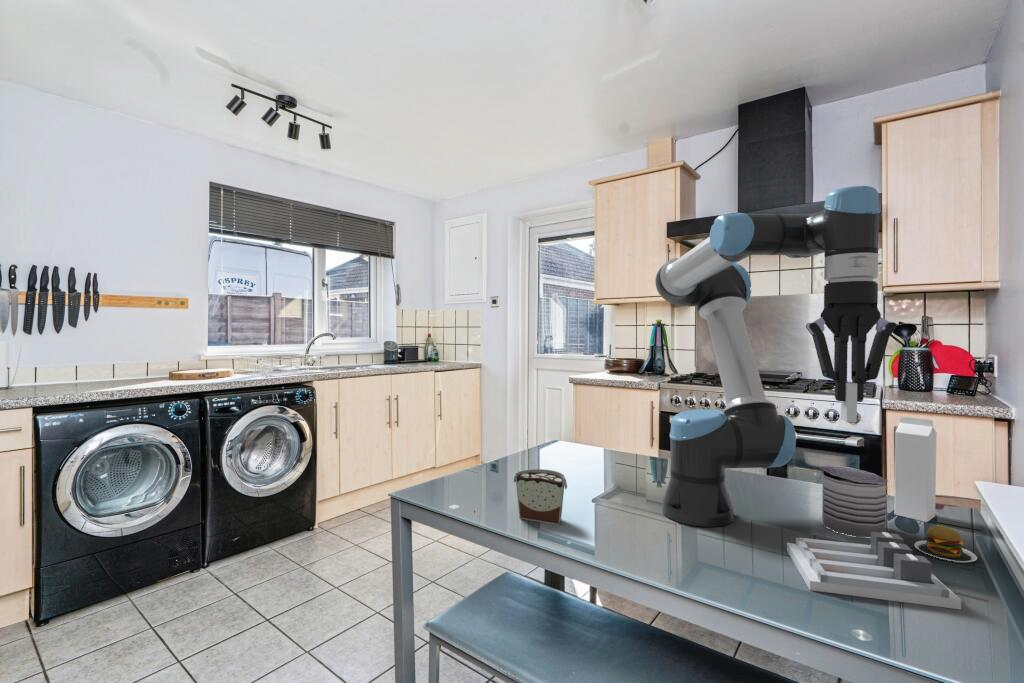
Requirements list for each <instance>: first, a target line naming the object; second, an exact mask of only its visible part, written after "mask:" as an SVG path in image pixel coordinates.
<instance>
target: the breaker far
mask: <svg viewBox="0 0 1024 683" xmlns="http://www.w3.org/2000/svg"><path fill="white" fill-rule="evenodd" d="M878 542H888V543H889V542H895V543H898V544H905V539H904V538H902V537H901V535H899V534H897V533H892V532H891V533H889V532H882V533H880V532H871V539H870V545H871V555H877V552H878Z"/></svg>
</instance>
